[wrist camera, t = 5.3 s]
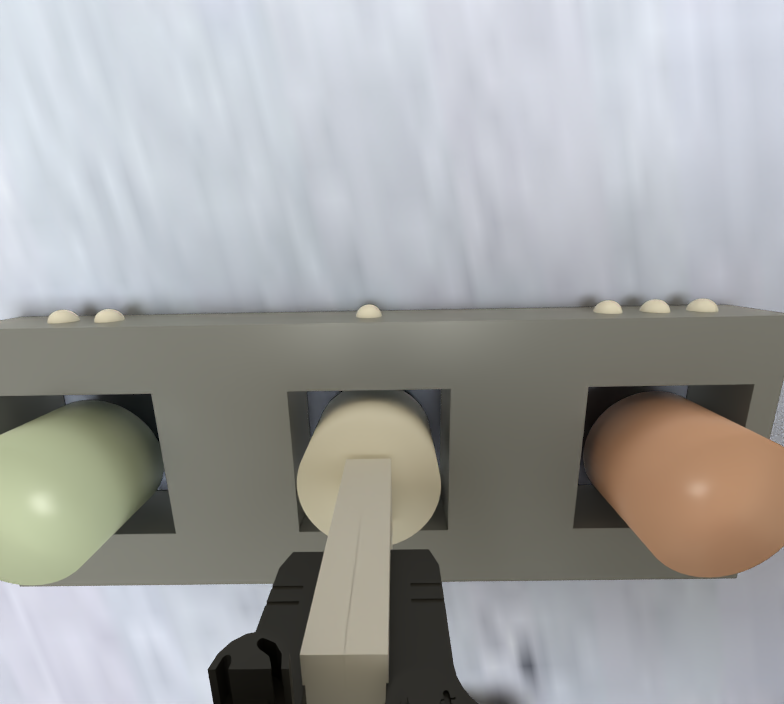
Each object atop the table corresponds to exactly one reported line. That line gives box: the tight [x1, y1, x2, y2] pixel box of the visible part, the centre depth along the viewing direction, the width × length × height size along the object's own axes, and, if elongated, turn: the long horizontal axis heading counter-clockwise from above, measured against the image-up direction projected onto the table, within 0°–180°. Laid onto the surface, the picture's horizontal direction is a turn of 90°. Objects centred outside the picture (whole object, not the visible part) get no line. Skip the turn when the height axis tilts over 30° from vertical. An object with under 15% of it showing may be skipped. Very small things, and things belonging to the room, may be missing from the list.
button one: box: [297, 390, 441, 545], centre depth 15 cm, size 5×5×4 cm
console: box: [0, 299, 784, 586], centre depth 16 cm, size 30×12×3 cm, turn 91°
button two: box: [0, 400, 164, 585], centre depth 14 cm, size 5×5×4 cm
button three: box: [583, 391, 784, 578], centre depth 14 cm, size 5×5×4 cm
